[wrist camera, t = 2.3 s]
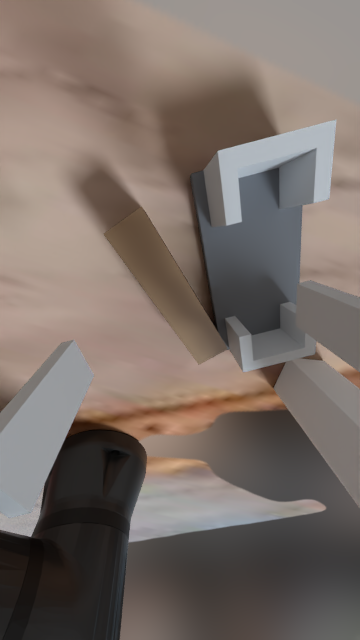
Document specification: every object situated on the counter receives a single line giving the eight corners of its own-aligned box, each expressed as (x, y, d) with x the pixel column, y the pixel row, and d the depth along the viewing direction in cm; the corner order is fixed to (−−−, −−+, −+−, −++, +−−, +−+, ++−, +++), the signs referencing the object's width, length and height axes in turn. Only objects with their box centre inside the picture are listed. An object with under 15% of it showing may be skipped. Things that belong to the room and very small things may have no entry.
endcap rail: (219, 346, 26) (233, 374, 21) (189, 176, 18) (202, 154, 13) (292, 328, 26) (324, 351, 21) (297, 148, 17) (352, 115, 12)
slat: (191, 340, 25) (198, 364, 21) (116, 233, 19) (103, 233, 15) (215, 327, 25) (227, 348, 20) (145, 212, 19) (141, 206, 14)
